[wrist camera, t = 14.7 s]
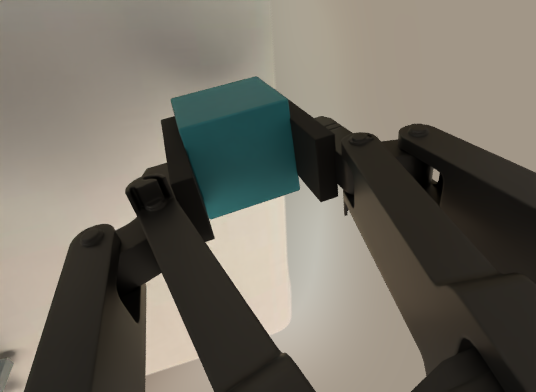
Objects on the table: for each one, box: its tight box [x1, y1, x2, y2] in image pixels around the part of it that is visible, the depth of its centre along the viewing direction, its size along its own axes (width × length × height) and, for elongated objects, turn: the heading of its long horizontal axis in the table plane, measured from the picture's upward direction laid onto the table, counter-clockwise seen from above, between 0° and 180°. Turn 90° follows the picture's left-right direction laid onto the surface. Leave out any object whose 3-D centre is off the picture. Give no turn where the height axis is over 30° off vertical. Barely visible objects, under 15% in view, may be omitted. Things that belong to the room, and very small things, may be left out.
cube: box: [171, 76, 300, 219], centre depth 15 cm, size 4×4×4 cm
